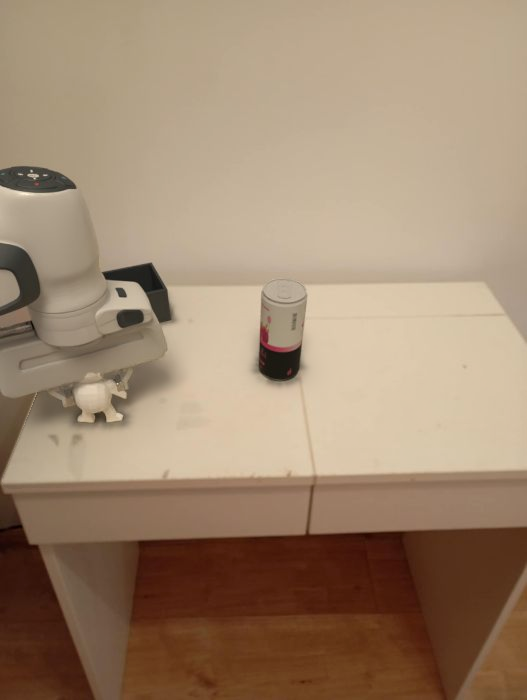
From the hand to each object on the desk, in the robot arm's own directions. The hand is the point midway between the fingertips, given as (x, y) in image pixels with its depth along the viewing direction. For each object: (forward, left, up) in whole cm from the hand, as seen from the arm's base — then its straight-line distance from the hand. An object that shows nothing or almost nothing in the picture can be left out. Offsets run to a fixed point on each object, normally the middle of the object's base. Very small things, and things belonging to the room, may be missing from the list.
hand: (96, 395), depth 63 cm
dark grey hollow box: (+11, +24, -5) cm, 27 cm away
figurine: (0, 0, -5) cm, 5 cm away
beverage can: (+28, -1, -5) cm, 28 cm away
